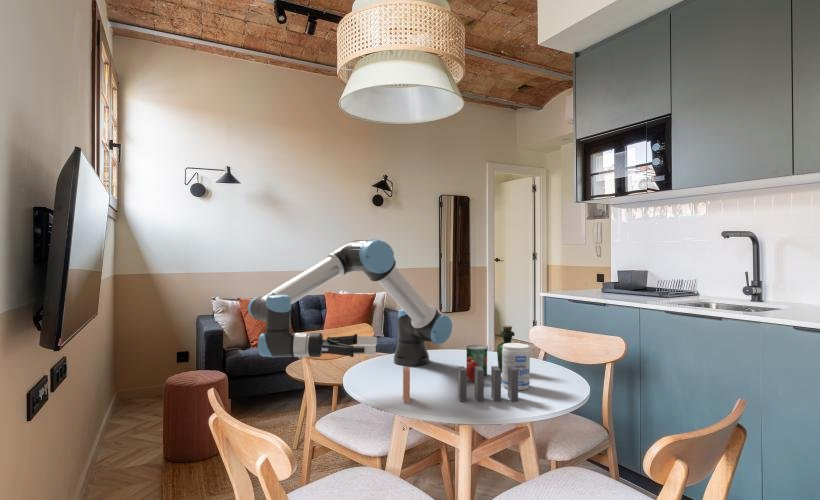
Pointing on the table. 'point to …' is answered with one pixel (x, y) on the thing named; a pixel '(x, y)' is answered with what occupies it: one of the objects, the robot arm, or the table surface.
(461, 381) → the domino
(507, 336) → the potion bottle
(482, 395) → the domino
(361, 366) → the table surface
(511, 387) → the domino
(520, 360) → the supplement tub
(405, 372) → the orange domino
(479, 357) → the canned tomato
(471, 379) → the onion
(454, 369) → the table surface
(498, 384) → the domino
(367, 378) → the table surface
